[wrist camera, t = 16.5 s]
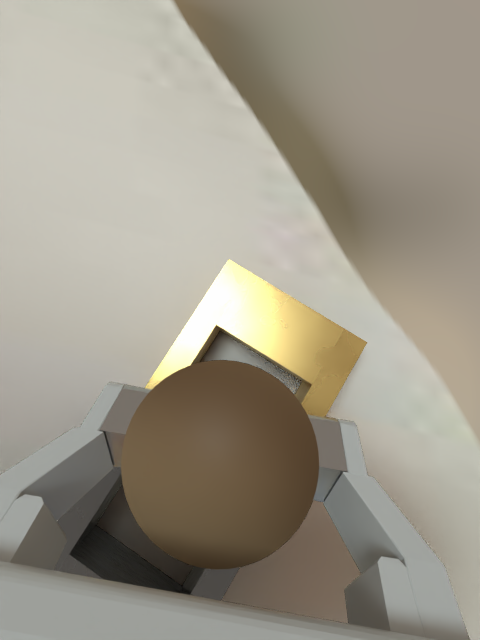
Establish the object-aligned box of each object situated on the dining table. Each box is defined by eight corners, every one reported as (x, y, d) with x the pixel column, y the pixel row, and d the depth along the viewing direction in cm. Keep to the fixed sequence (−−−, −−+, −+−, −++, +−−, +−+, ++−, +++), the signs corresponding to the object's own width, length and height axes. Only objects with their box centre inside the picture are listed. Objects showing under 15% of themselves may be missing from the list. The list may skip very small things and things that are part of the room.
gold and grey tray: (168, 661, 18) (153, 719, 15) (40, 566, 19) (2, 604, 16) (349, 345, 21) (367, 342, 18) (230, 273, 21) (228, 259, 19)
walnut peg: (245, 452, 18) (252, 614, 6) (182, 411, 19) (81, 493, 7) (283, 387, 19) (355, 426, 7) (222, 349, 19) (191, 324, 7)
